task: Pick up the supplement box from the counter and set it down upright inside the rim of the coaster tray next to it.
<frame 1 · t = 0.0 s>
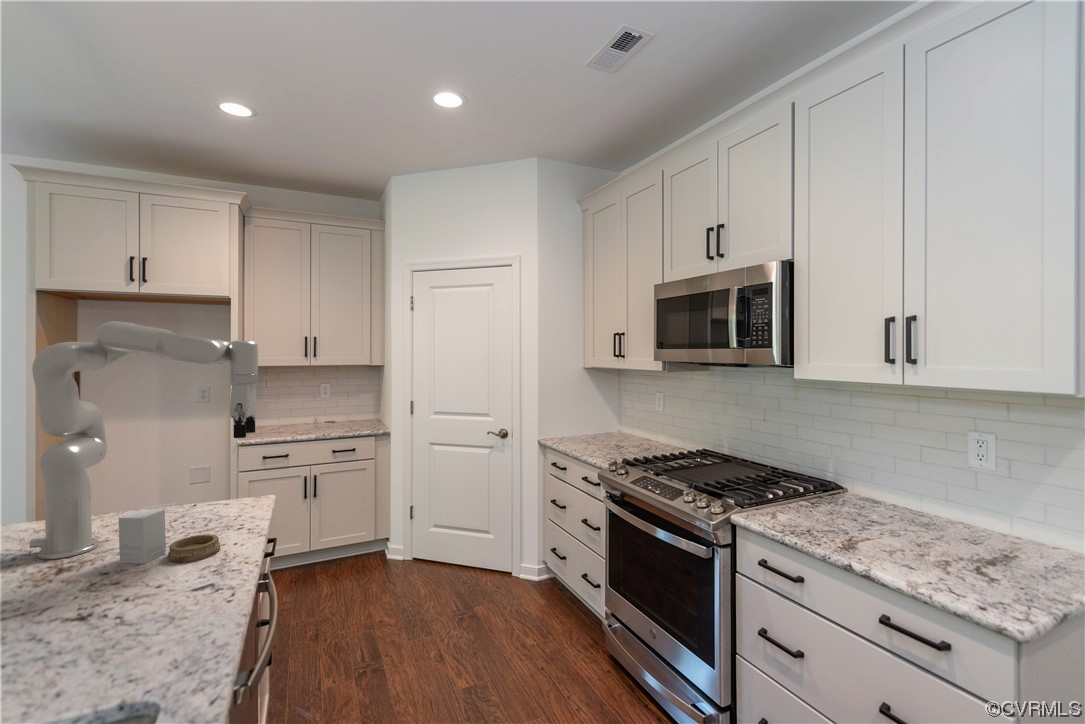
hand: (244, 435, 152), 31 cm above the countertop, tool pointing down, fingers open, 9 cm apart
coaster tray: (194, 553, 138), on the countertop
supplement box: (143, 559, 135), on the countertop
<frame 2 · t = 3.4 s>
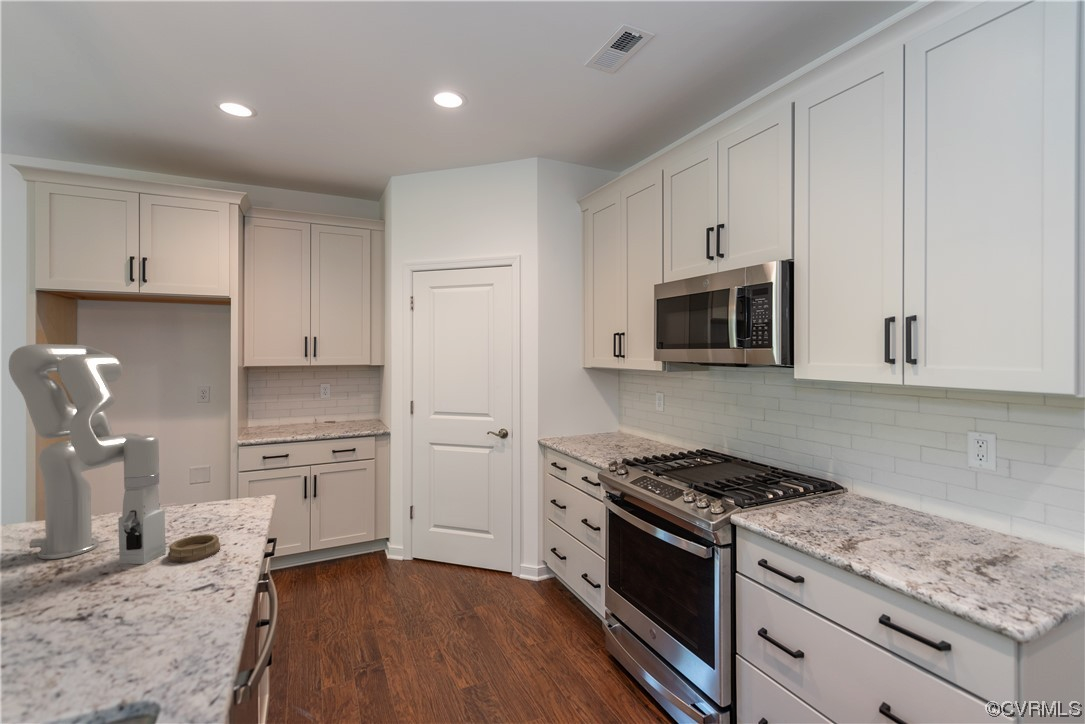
hand: (143, 542, 135), 4 cm above the countertop, tool pointing down, fingers open, 9 cm apart
supplement box: (143, 559, 135), on the countertop, touching gripper
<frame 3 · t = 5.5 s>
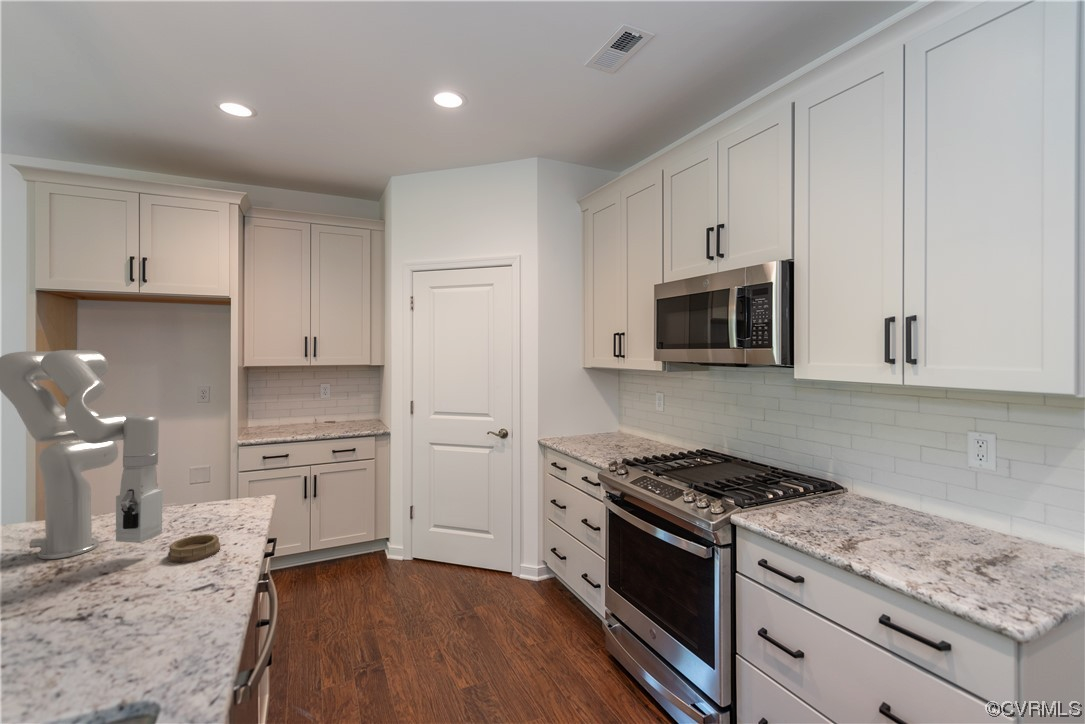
hand: (139, 522, 135), 10 cm above the countertop, tool pointing down, fingers closed on supplement box, 9 cm apart
supplement box: (139, 538, 135), point 6 cm above the countertop, touching gripper
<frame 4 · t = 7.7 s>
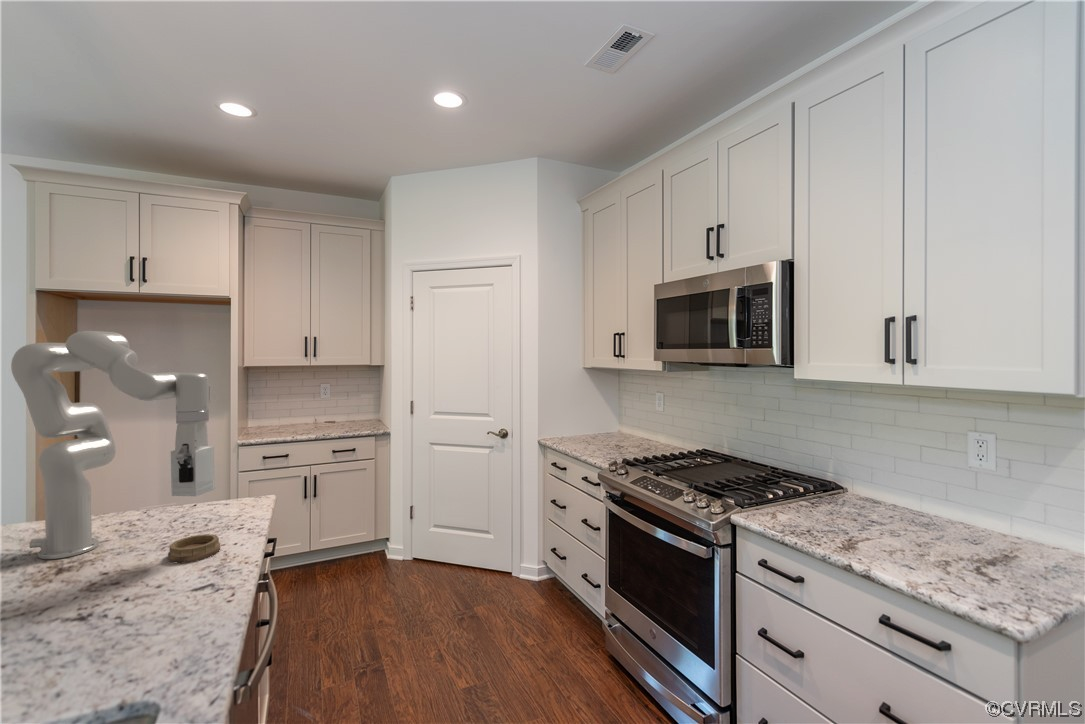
hand: (193, 477, 138), 22 cm above the countertop, tool pointing down, fingers closed on supplement box, 9 cm apart
supplement box: (193, 493, 138), point 17 cm above the countertop, touching gripper
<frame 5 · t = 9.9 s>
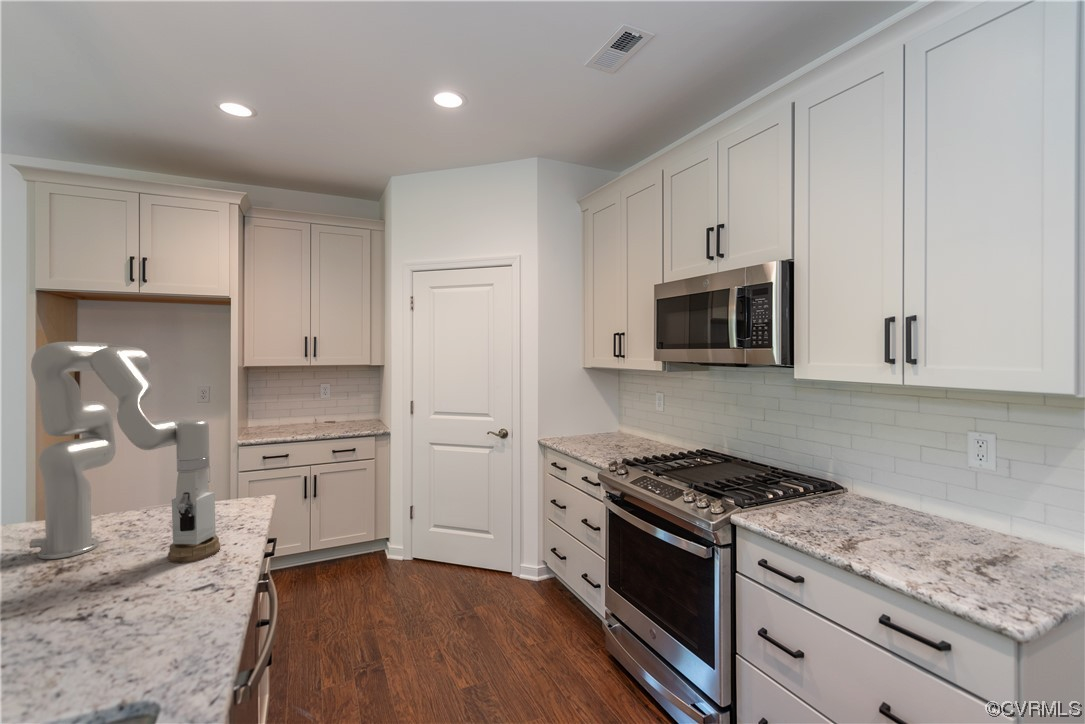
hand: (194, 524, 138), 8 cm above the countertop, tool pointing down, fingers closed on supplement box, 9 cm apart
supplement box: (194, 540, 138), point 4 cm above the countertop, touching gripper
when the fingers open (7 cm above the countertop, at t = 11.7 s): supplement box stays where it is, resting on coaster tray.
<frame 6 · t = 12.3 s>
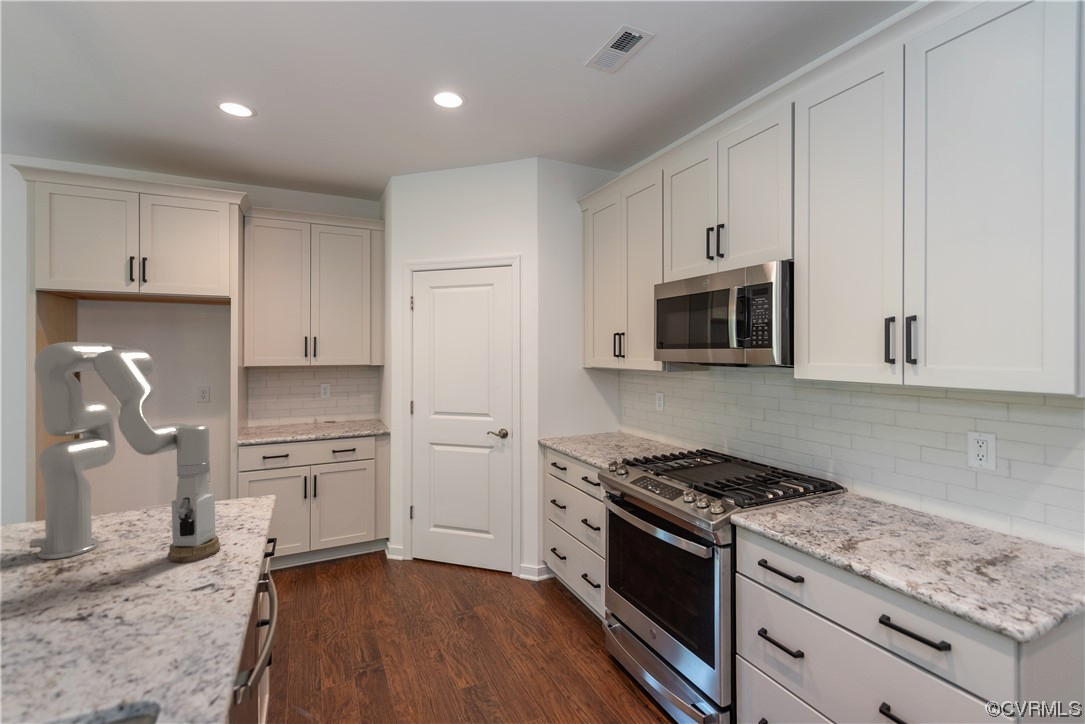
hand: (194, 529, 138), 7 cm above the countertop, tool pointing down, fingers open, 9 cm apart
supplement box: (194, 542, 138), point 3 cm above the countertop, touching coaster tray
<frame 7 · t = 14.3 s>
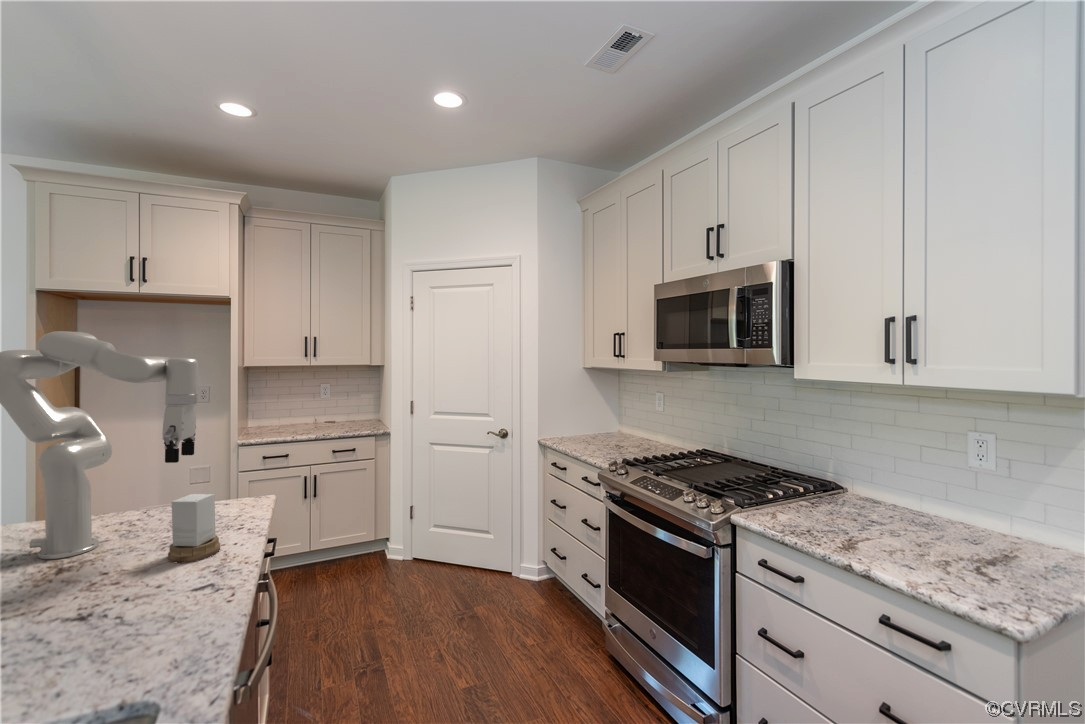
hand: (180, 458, 143), 26 cm above the countertop, tool pointing down, fingers open, 9 cm apart
nothing on the countertop moved.
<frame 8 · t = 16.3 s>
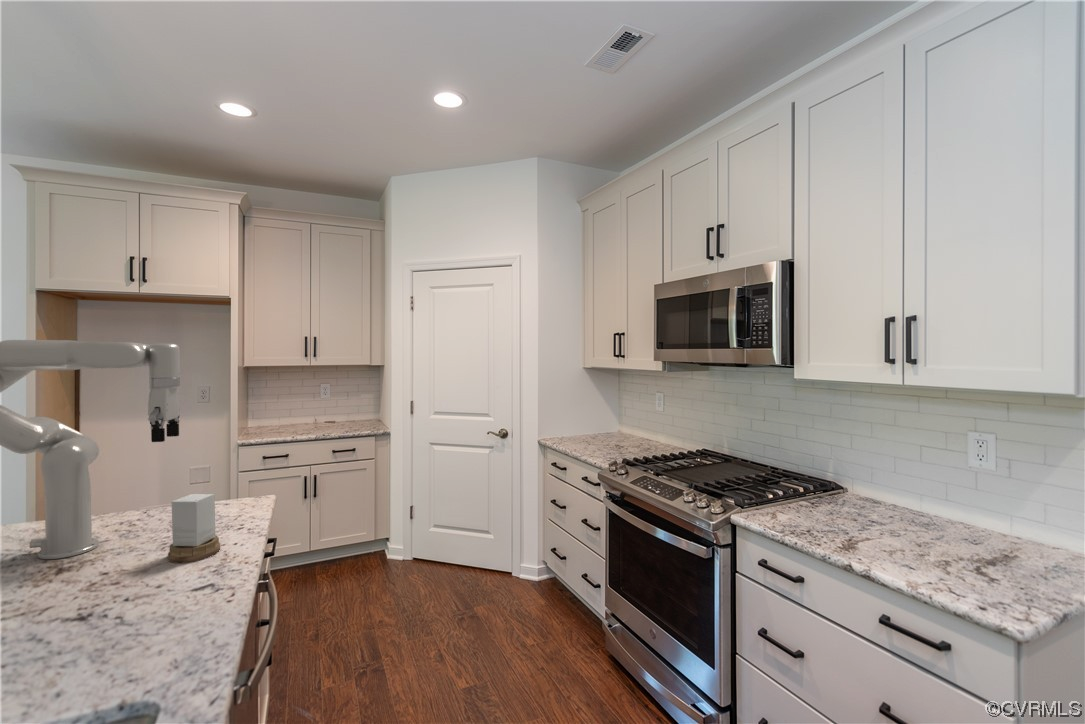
hand: (165, 438, 151), 30 cm above the countertop, tool pointing down, fingers open, 9 cm apart
nothing on the countertop moved.
at the end: supplement box 0.0 cm off-centre on the coaster tray, point 3.3 cm above the coaster tray's base; supplement box tilted 0°; the gripper is holding nothing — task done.
